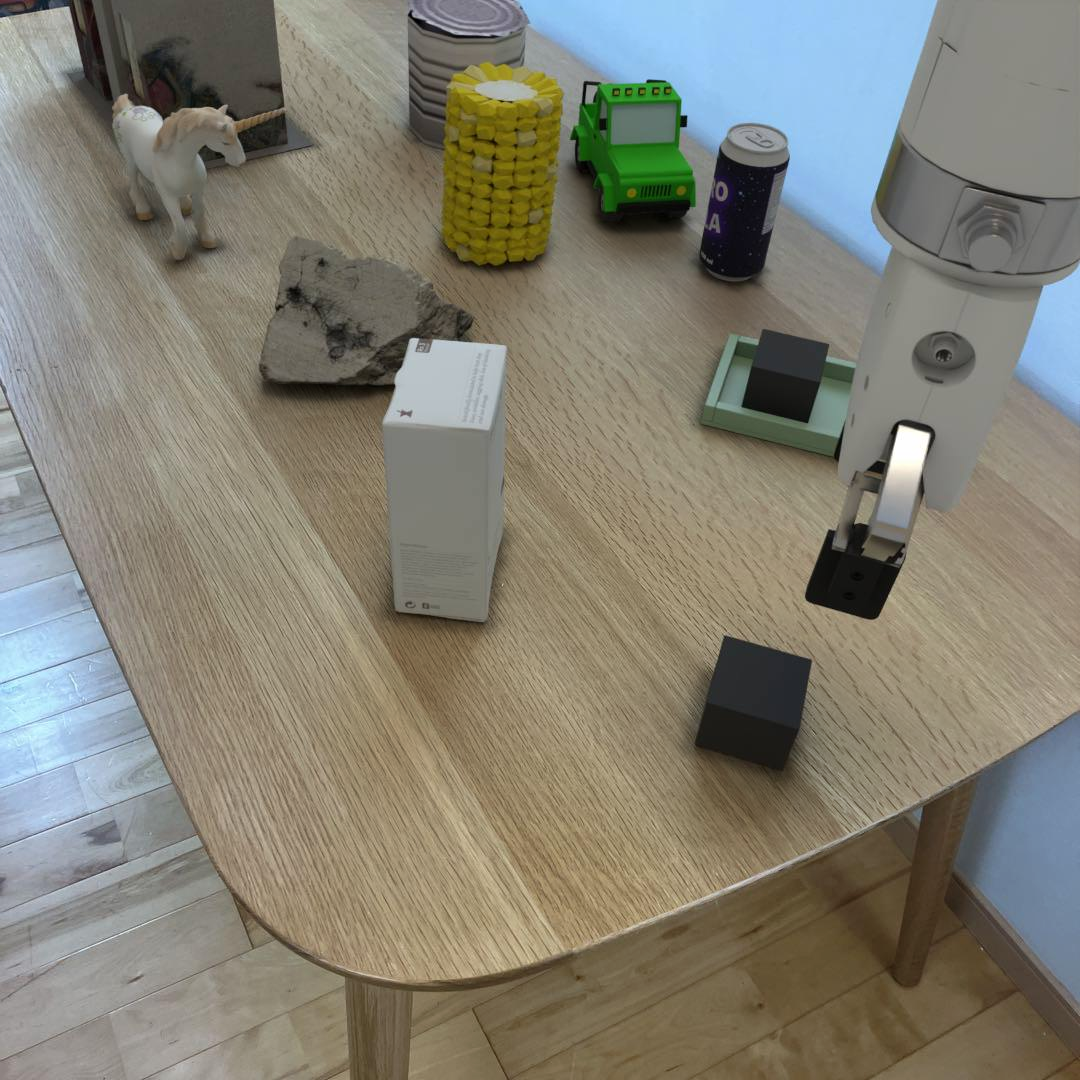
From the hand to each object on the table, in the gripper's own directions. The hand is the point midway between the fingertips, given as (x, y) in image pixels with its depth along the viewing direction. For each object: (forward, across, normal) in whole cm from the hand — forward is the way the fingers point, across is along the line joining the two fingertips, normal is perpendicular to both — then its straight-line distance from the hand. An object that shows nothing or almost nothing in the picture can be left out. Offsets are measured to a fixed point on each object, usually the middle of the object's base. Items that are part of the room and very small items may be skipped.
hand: (853, 531), depth 52 cm
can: (+17, +62, +42) cm, 77 cm away
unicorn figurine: (+17, +35, +55) cm, 67 cm away
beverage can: (+17, +47, +12) cm, 51 cm away
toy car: (+17, +57, +24) cm, 64 cm away
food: (+17, +43, +32) cm, 56 cm away
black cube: (+16, 0, +2) cm, 16 cm away
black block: (+16, +30, +5) cm, 34 cm away
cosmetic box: (+17, +5, +22) cm, 28 cm away
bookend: (+18, +54, +68) cm, 89 cm away
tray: (+16, +30, +2) cm, 34 cm away
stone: (+17, +24, +36) cm, 46 cm away
